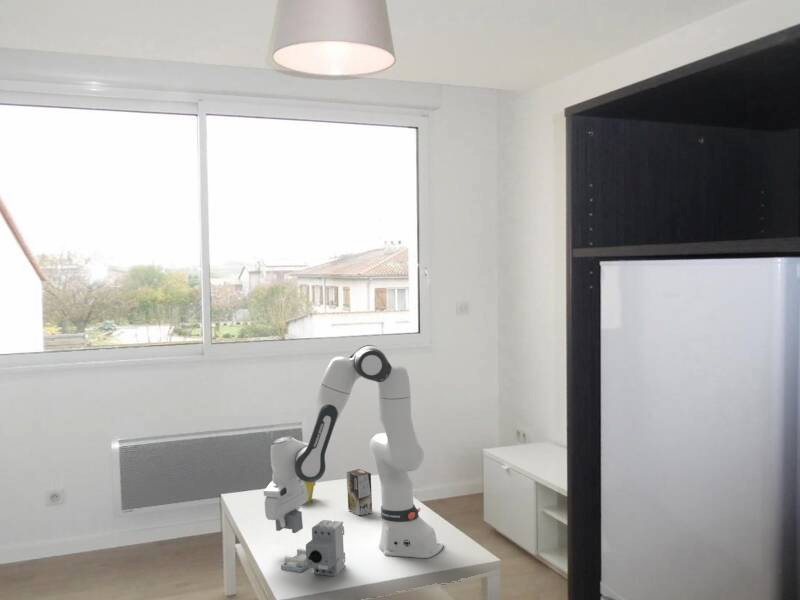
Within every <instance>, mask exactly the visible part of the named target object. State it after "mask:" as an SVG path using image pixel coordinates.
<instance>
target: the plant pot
mask: <svg viewBox="0 0 800 600" xmlns="http://www.w3.org/2000/svg"><path fill="white" fill-rule="evenodd" d="M298 478H299V477H298ZM304 482H305V481H304ZM305 484H306V488H307V493H308V500H307V502H306V503H309V502H312V500H313V496H314V495H313V494H314V487H315V486H316V481H314V482H305Z"/></svg>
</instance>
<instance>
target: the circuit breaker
mask: <svg viewBox="0 0 800 600" xmlns="http://www.w3.org/2000/svg"><path fill="white" fill-rule="evenodd" d="M343 524H344V521H339V520H334V521H332V520H329V519H328V520H327V519H322V520H320V521H319V522H318V523H316V524H315V525H313V527H311V537H312V538H311V540H310V541H308V542H307V543H306V544H305V550H306V563H307V569H313V574H314V575H321V576H329V577H330V576H331V577H336V576H337V575H338V574H339V573H340V572H341V571H342V570H343V569H344V568H346V565H345V563H346V552H345V551H344V535H345V526H343Z"/></svg>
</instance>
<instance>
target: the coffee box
mask: <svg viewBox="0 0 800 600" xmlns="http://www.w3.org/2000/svg"><path fill="white" fill-rule="evenodd" d="M371 475H372V473H371V472H368V471H366V470H363V469H360V468H359V469H354V470H351V471H350V470H349V471H346V487H347V507H348V509H347V510H350V511H352V512H354V513H356V514H358V515H362V516H364V515H363V514H366V515H369V514H368V513H370V514H372V513H373V500H372V499H373V498H372V476H371ZM350 511H349V512H350ZM352 512H351V513H352ZM371 512H372V513H371ZM354 513H353V514H354ZM356 514H355V515H356ZM358 515H357V516H358Z"/></svg>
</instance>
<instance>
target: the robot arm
mask: <svg viewBox="0 0 800 600" xmlns="http://www.w3.org/2000/svg"><path fill="white" fill-rule="evenodd" d="M360 378H363V379H366V380H369V381H372V382H377V384H378V412H379V413H378V416H379V421H380V423H381V424H382V427H383V429H384V432H378V433H376V434H375V435H374V436H372V438H371V439H370V441H369V445H368V447H369V450H368V451H369V452H370V454H371V456H372V458H373V461H374V463H375V465H376V466H375V467H376V470H377V474H378V477H379V482H380V488H381V489H380V491H381V507H380V512H381V513H380V514H381V516H380V517H381V518H380V519H381V535H380V541H379V545H378V548H379V550H380V551H382V552H383V554H384V555H385V556H392V557H393V556H394V557H404V558H408V557H409V558H417V559H428V558H431V557H434V556H435V555H437V554H438V553H440V552H441V551H442V550H443V548H444V542H443V541H441V540H437V536H436V535H437V534H436V531H435V529H434V527H432V525H430V524H429V523H427V521H425V520H424V519H423V518H422V517H421V516H420V515H419V513H420V512H421V507H418V508H417V507H416V505H415V504H414V485H413V482H412V479H411V477H410V476H409V473H408V472H414V471H417V470H418V469H419V468H420V467H421V466H422V464H423V462H424V459H425V452H424V449H423V448H422V446H421V445H420V443H419V441H418V439H417V436H416V432H415V428H414V424H413V420H412V404H411V403H412V402H411V401H412V400H411V384H410V379H409V373H408V370H407V369H406V368H405V367H404V366H402V365H400V364H396V363H395V364H394V363H392V364H391V363H390V362H389V361H388V359H387V357H386V355H385V353H384V352H383V351H382V349H381V348H379V347H378V346H376V345H372V344H366V345H364V346H363V345H362V346H361V347H360V348H358V349H357V350H356V351H355V352H354V353H352V354H351V355H350V356H349V357H346V356H335V357H333V358H332V359H331V360H330V362H329V364H328V366H327V367H326V369H325V371H324V373H323V376H322V378H321V379H320V383H319V386H318V389H317V393H316V398H315V421H314V422H315V423H314V427H313V430H312V432H311V435H310V438H309V440H308V442H304V441H301V440H298V439H296V438H294V437H293V436H283V437H279V438H277V439H275V440H274V441H273V442H272V444H271V446H270V466H271V469H272V475H271V479H272V480H271V481H270V483H269V484H268V485H267V486H266V488H265V489H264V490H263V496H264V497H265V499H264V513H265V518H266V519H267V520H270V521H275V520H277V519H278V520H279V521H280V524H281V527H286V526H287V521H285V519H284V518H285V514H287V513H289V512H290V511H292V510H293V511H300V506H301V507H302V505H303V504H306V503H308V502H307V500H308V493H307V488H306V484H305V482H314V481H315V482H317V481H318V480H320V479H321V478H322V477H323V475H324V474H325V472H326V457H325V456H326V452H327V449H328V445H329V443H330V440H331V438H332V434H333V430H334V428H335V426H336V423H337V422H338V420H339V418H340V416H341V414H342V412H343V411H344V409H345V407H346V405H347V402H348V400H349V398H350V395H351V393H352V390H353V387H354V386H355V383H356V381H358V379H360ZM298 477H299V478H298ZM304 481H305V482H304Z"/></svg>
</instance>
